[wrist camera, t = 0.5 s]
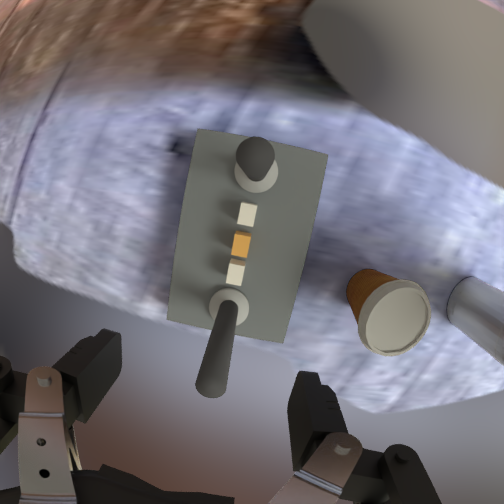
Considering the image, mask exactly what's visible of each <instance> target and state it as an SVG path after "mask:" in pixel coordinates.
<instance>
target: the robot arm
mask: <svg viewBox="0 0 504 504" xmlns="http://www.w3.org/2000/svg"><path fill="white" fill-rule="evenodd" d="M447 315H448V319H449V321H450V322H451V323H452V324H453V325H454V326H456V327H457V328H458V329H459V330H461V331H462V332H463V333H464V334H465V335H467V336H468V337H469V338H470V339H472V340H473V341H474V342H475V343H477V344H478V345H479V346H480V347H481V348H483V349H484V350H485V351H486V352H487V353H489V354H490V355H491V356H492V357H493V358H495V359H496V360H497V361H498V362H499V363H501V364H502V365H503V366H504V292H503V291H501V290H499V289H497V288H495V287H493V286H491V285H489V284H488V283H486V282H484V281H482V280H479V279H477V278H475V277H468V278H465V279H464V280H462V281H461V282H460V283H459V284H458V285H457V286H456V287H455V288H454V290H453V292H452V293H451V296H450V298H449V301H448V306H447ZM121 348H122V347H121V334H120V333H118V332H114V331H111V330H108V329H102V330H101V331H100V332H99V333H98V334H97V335H96V336H95V337H93V336H89V337H87V338H84V339H82V340H80V341H79V342H78V343H77V344H76V345H75V346H74V347H73V348H71V349H70V351H69V352H67V353H66V354H65V355H64V356H63V357H62V358H61V359H60V360H59V361H58V362H57V363H55V365H53V366H52V367H45V366H43V367H37V368H34V369H33V370H31V371H30V372H29V374H26V373H21V372H17V371H13V370H12V366H11V363H10V361H9V360H8V359H7V358H5V357H3V356H0V454H1V453H2V452H3V450H4V449H5V448H6V447H7V446H8V445H9V443H10V442H11V441H12V440H13V438H14V437H15V436H16V435H17V434H18V457H19V476H20V486H18V487H14V488H9V489H5V490H0V504H234V498H233V497H226V496H219V495H212V494H207V493H201V492H171V491H163V490H161V489H159V488H157V487H155V486H153V485H151V484H149V483H147V482H145V481H143V480H141V479H140V478H138V477H136V476H134V475H132V474H129V473H126V472H123V471H121V470H118V469H115V468H112V467H110V466H107V465H105V464H103V465H102V466H101V468H100V470H99V471H95V470H82V469H81V465H80V461H79V456H78V451H77V445H76V440H75V434H74V428H73V423H74V422H75V420H78V421H81V422H83V423H86V422H87V421H88V419H89V418H90V417H91V415H92V413H93V412H94V411H95V409H96V408H97V406H98V405H99V404H100V402H101V401H102V399H103V398H104V396H105V395H106V393H107V392H108V391H109V389H110V387H111V386H112V385H113V383H114V382H115V381H116V379H117V378H118V376H119V374H120V372H121V368H122V349H121ZM287 409H288V410H287V413H288V423H289V432H290V442H291V452H292V463H293V471H297V472H296V473H295V474H294V475H293V476H292V477H291V478H290V480H289V481H288V482H287V483H286V484H285V485H284V486H283V488H282V489H281V490H280V491H279V492H278V493H277V494H276V495H275V497H274V498H273V499H272V500H271V501H270V502H269V503H268V504H335V503H336V501H337V500H338V498H339V499H344V500H349V501H353V504H442V503H441V501H440V499H439V497H438V495H437V493H436V491H435V488H434V486H433V484H432V482H431V480H430V478H429V476H428V474H427V472H426V470H425V468H424V466H423V464H422V462H421V460H420V458H419V456H418V455H417V453H416V452H415V451H414V450H413V449H412V448H410V447H408V446H406V445H402V444H395V445H391V446H389V447H388V448H387V449H386V451H385V452H384V453H382V452H377V451H372V450H368V449H364V448H363V447H362V444H361V442H360V441H359V440H358V439H357V438H356V437H354V436H353V435H351V434H349V433H348V430H347V428H346V424H345V421H344V418H343V415H342V412H341V410H340V406H339V404H338V400H337V397H336V394H335V392H334V391H333V390H332V389H331V388H330V387H329V386H328V385H321V382H320V378H319V375H318V373H316V372H307V371H299V372H298V374H297V377H296V380H295V383H294V386H293V389H292V392H291V395H290V398H289V401H288V408H287Z"/></svg>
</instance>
